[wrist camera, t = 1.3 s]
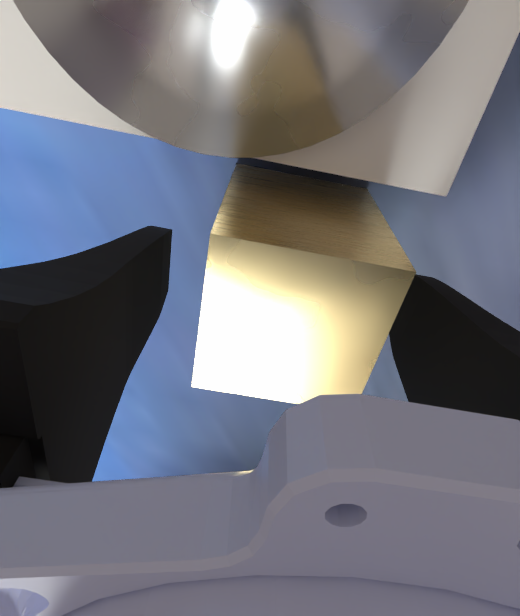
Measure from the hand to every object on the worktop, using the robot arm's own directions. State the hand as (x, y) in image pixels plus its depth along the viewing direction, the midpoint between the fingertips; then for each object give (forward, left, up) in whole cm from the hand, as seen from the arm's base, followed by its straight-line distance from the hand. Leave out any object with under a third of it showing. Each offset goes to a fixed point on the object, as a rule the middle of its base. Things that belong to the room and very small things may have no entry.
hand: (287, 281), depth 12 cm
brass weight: (0, 0, -3) cm, 3 cm away
